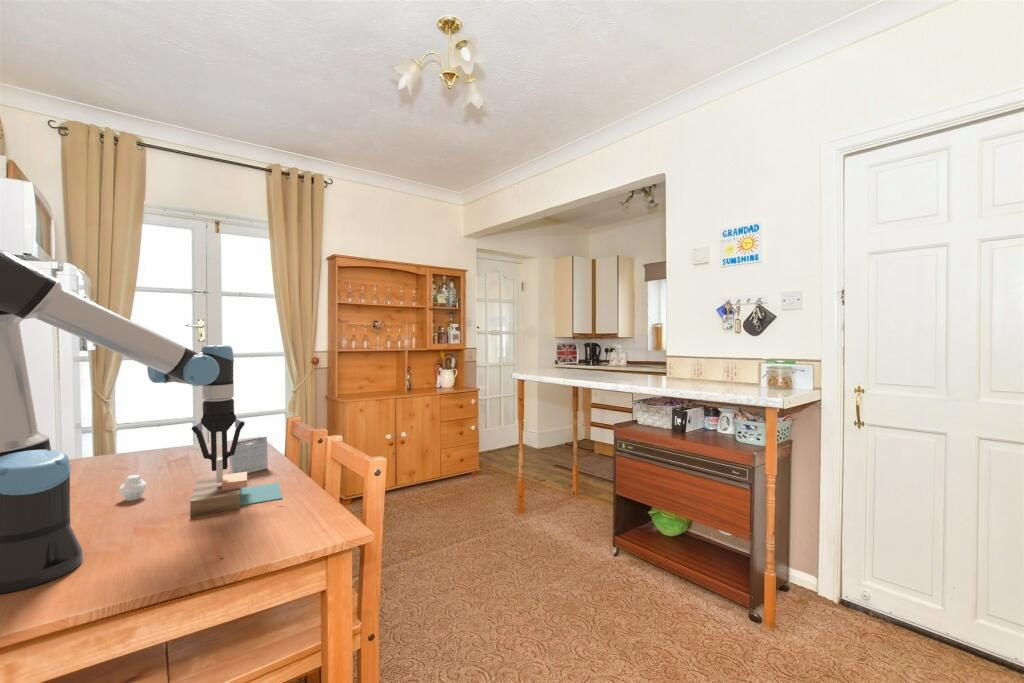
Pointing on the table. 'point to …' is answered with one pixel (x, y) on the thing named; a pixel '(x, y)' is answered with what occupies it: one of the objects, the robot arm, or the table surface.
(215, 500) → the brown wooden slab
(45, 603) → the table surface
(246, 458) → the ink box
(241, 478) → the block
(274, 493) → the mat
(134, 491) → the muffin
